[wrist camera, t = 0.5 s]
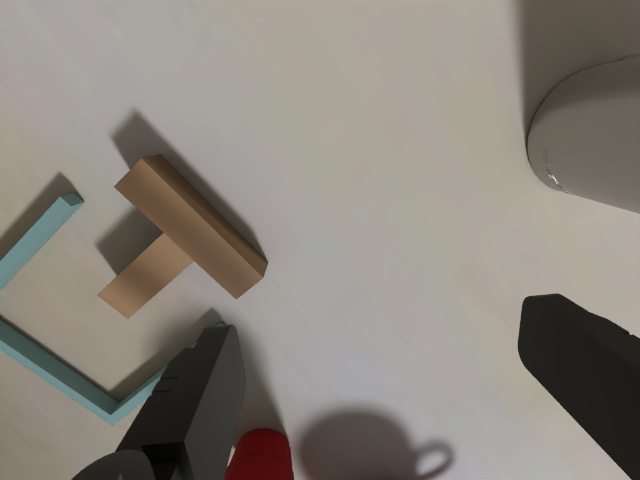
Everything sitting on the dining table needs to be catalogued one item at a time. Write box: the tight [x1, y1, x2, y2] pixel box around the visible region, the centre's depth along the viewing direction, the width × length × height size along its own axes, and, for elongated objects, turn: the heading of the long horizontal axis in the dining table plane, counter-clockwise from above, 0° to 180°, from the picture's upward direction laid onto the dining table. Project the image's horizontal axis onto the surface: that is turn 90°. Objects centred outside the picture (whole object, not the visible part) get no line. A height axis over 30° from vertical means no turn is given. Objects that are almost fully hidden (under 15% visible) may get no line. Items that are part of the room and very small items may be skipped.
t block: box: [97, 154, 268, 319], centre depth 26 cm, size 11×12×3 cm
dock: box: [0, 193, 225, 426], centre depth 29 cm, size 16×17×2 cm
